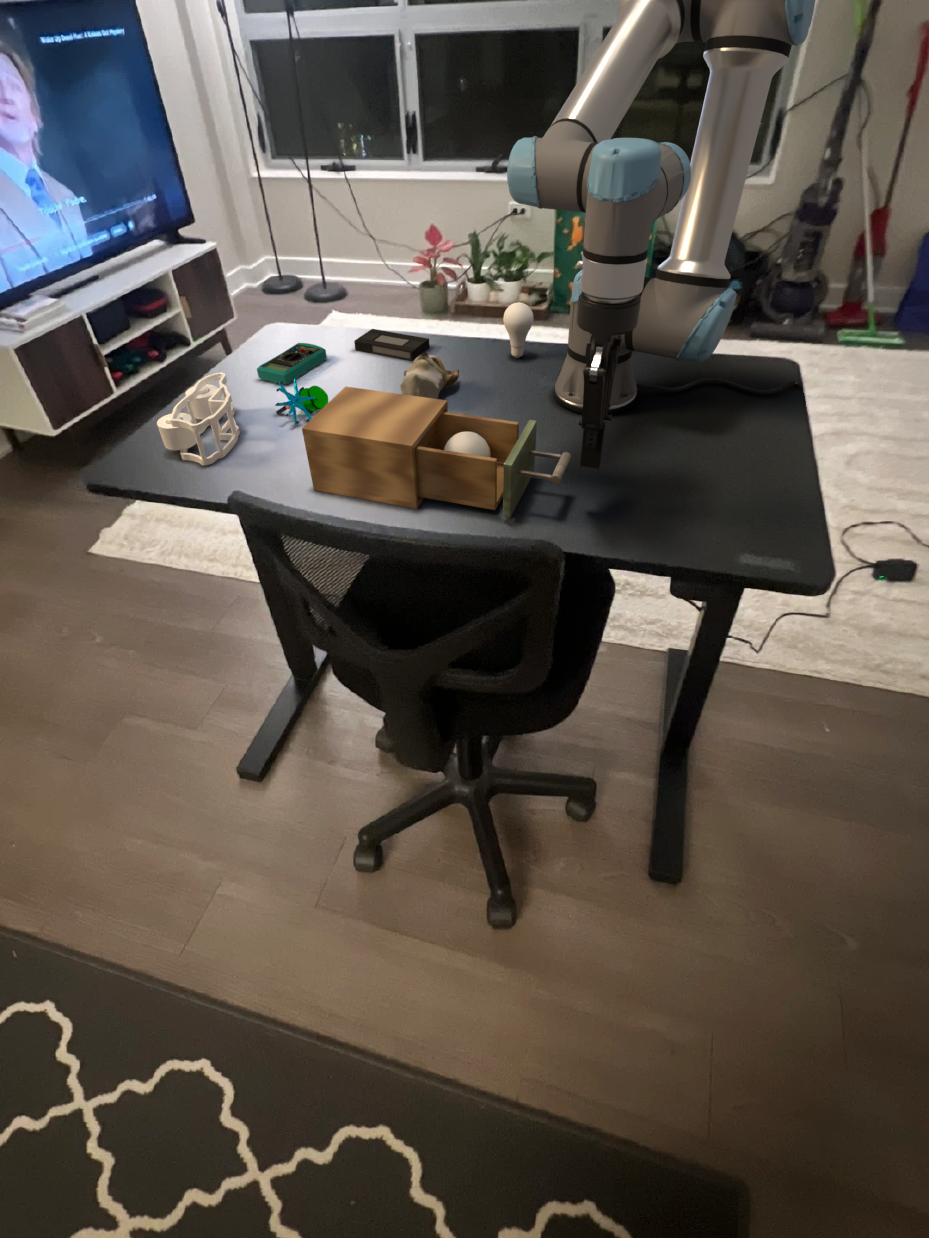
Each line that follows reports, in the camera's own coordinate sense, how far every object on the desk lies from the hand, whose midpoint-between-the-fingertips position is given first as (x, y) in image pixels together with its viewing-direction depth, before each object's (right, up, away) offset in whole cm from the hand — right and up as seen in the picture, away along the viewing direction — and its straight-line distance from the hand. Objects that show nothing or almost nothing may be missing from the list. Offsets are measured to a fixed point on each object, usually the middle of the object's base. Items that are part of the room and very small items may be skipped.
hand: (590, 464), depth 102 cm
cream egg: (-17, -1, +9) cm, 19 cm away
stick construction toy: (-49, +16, +31) cm, 60 cm away
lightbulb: (-7, +33, +47) cm, 58 cm away
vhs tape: (-34, +36, +52) cm, 71 cm away
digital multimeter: (-53, +29, +45) cm, 76 cm away
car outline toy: (-63, +10, +25) cm, 69 cm away
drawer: (-14, -2, +9) cm, 16 cm away
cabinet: (-31, +1, +14) cm, 34 cm away
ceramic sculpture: (-25, +21, +35) cm, 48 cm away
